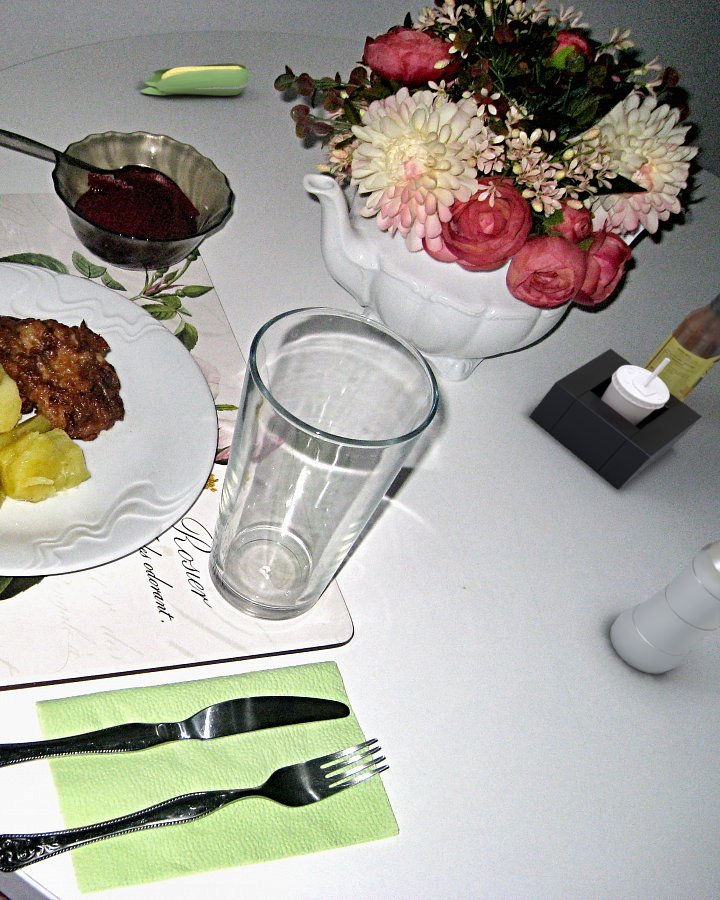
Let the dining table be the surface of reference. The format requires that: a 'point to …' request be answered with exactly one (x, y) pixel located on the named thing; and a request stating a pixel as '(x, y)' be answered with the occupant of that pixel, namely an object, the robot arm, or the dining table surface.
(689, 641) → the plastic bottle
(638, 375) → the smoothie
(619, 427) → the dark storage bin
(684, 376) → the sauce bottle
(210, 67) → the edible corn
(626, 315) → the dining table surface
